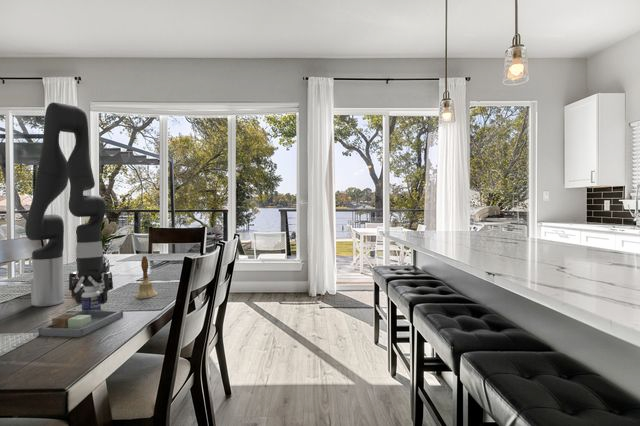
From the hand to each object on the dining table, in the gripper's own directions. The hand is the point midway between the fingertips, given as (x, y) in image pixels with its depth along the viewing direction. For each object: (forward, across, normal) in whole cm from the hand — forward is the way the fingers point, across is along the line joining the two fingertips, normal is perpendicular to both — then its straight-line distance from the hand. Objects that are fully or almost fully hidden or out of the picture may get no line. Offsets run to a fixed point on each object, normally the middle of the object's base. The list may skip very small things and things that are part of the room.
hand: (91, 303), depth 125 cm
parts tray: (+4, +7, -12) cm, 14 cm away
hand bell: (+4, +4, +25) cm, 26 cm away
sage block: (+3, +9, -16) cm, 19 cm away
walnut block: (+3, +4, -16) cm, 17 cm away
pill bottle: (+4, 0, 0) cm, 4 cm away
